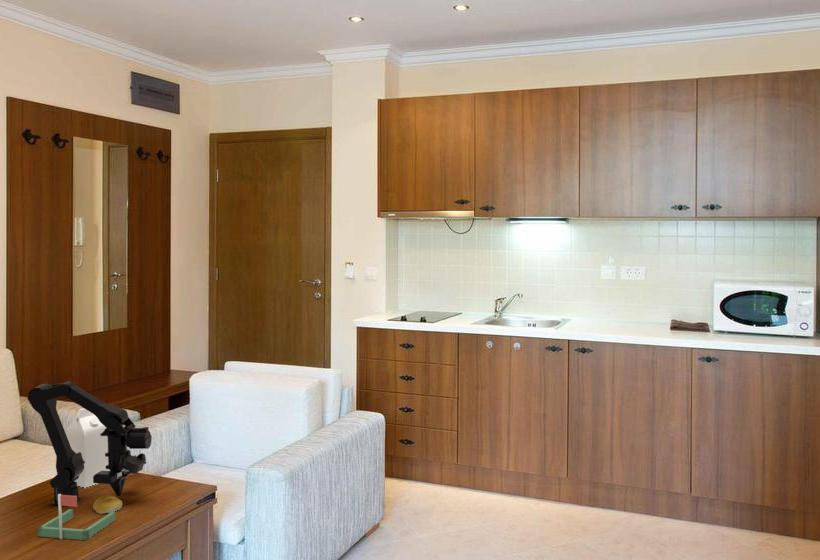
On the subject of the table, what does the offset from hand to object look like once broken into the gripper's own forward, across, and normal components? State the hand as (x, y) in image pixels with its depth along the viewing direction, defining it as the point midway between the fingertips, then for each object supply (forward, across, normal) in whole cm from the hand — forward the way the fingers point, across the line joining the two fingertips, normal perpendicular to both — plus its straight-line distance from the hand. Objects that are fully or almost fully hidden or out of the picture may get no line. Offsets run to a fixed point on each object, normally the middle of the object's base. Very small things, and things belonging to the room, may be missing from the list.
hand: (118, 495), depth 231 cm
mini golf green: (+2, -21, 0) cm, 21 cm away
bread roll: (+2, -6, 0) cm, 6 cm away
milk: (+2, +17, +22) cm, 28 cm away
